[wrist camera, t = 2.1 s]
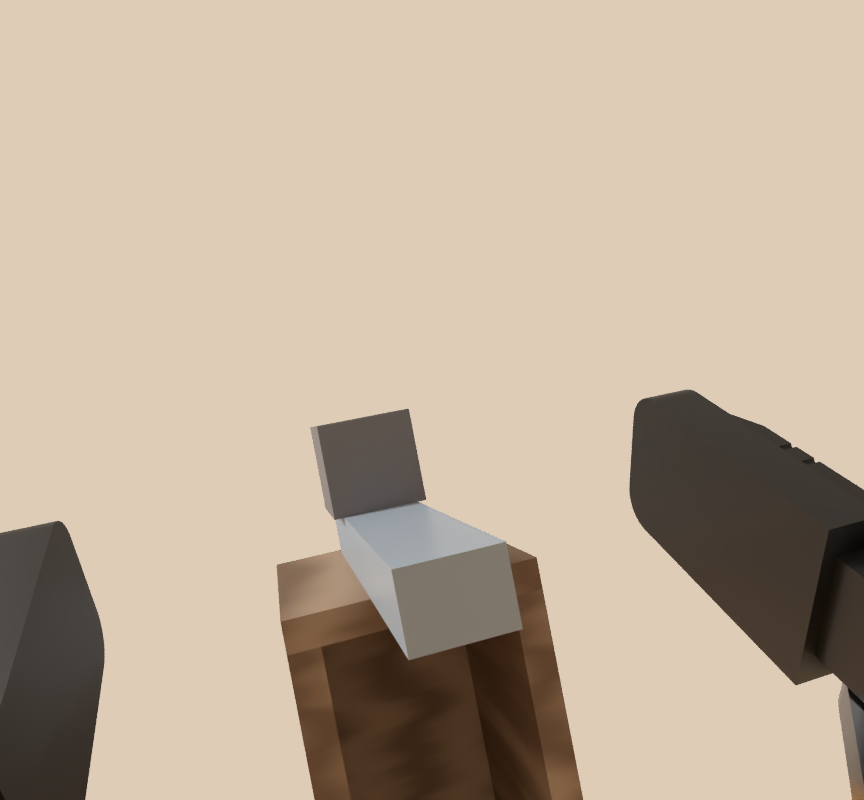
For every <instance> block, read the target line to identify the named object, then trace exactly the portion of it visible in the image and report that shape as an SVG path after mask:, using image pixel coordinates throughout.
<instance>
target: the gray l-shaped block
mask: <svg viewBox="0 0 864 800" xmlns="http://www.w3.org/2000/svg"><path fill="white" fill-rule="evenodd" d="M311 433H312V439H313V444H314V449H315V454H316V459H317V464H318V469H319V475H320V479H321V485H322V491H323V496H324V501H325V506H326V509H327V510H328V512H329V513H330V514H331V516H332V517H333V518H334V519H335V520H336V525H337V530H338V535H339V541H340V546H341V551H342V554H343V555H344V557H345V559H346V560H347V562H348V564H349V565H350V567H351V568H352V570H353V572H354V573H355V575H356V576H357V578H358V580H359V581H360V583H361V584H362V586H363V588H364V589H365V591H366V592H367V594H368V596H369V597H370V599H371V600H372V602H373V604H374V605H375V607H376V609H377V610H378V612H379V613H380V615H381V617H382V618H383V620H384V621H385V623H386V625H387V626H388V628H389V629H390V631H391V633H392V634H393V636H394V637H395V639H396V641H397V642H398V644H399V645H400V647H401V649H402V650H403V652H404V653H405V655H406V657H407V658H408V660H412V659H415V658H419V657H423V656H426V655H430V654H434V653H437V652H441V651H444V650H448V649H452V648H455V647H459V646H463V645H466V644H470V643H474V642H477V641H481V640H485V639H488V638H492V637H496V636H499V635H503V634H507V633H510V632H514V631H518V630H521V629H523V627H522V622H521V617H520V611H519V606H518V601H517V596H516V591H515V586H514V580H513V575H512V570H511V565H510V560H509V554H508V549H507V544H506V542H505V541H503V540H501V539H499V538H497V537H494V536H492V535H490V534H488V533H486V532H483V531H481V530H479V529H477V528H474V527H472V526H470V525H468V524H465V523H463V522H461V521H459V520H457V519H455V518H452V517H450V516H448V515H446V514H444V513H441V512H439V511H437V510H435V509H432V508H430V507H428V506H426V505H424V504H421V503H419V502H418V501H422V500H426V497H425V491H424V486H423V481H422V476H421V471H420V466H419V460H418V455H417V450H416V445H415V440H414V434H413V430H412V424H411V419H410V414H409V409H405V410H399V411H394V412H388V413H383V414H378V415H373V416H368V417H362V418H358V419H352V420H347V421H342V422H337V423H331V424H326V425H321V426H316V427H311Z"/></svg>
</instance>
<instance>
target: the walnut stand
mask: <svg viewBox="0 0 864 800" xmlns="http://www.w3.org/2000/svg"><path fill="white" fill-rule="evenodd" d="M507 549H508V554H509V560H510V565H511V570H512V575H513V580H514V586H515V591H516V596H517V601H518V606H519V611H520V617H521V622H522V627H523V629H521V630H518V631H514V632H510V633H507V634H503V635H499V636H496V637H492V638H488V639H485V640H481V641H477V642H474V643H470V644H466V645H463V646H459V647H455V648H452V649H448V650H444V651H441V652H437V653H434V654H430V655H426V656H423V657H419V658H415V659H412V660H408V658H407V657H406V655H405V653H404V652H403V650H402V649H401V647H400V645H399V644H398V642H397V641H396V639H395V637H394V636H393V634H392V633H391V631H390V629H389V628H388V626H387V625H386V623H385V621H384V620H383V618H382V617H381V615H380V613H379V612H378V610H377V609H376V607H375V605H374V604H373V602H372V600H371V599H370V597H369V596H368V594H367V592H366V591H365V589H364V588H363V586H362V584H361V583H360V581H359V580H358V578H357V576H356V575H355V573H354V572H353V570H352V568H351V567H350V565H349V564H348V562H347V560H346V559H345V557H344V555H343V554H342V551H341V550H339V551H335V552H331V553H326V554H322V555H317V556H313V557H309V558H305V559H300V560H296V561H292V562H287V563H283V564H279V565H277V575H278V590H279V604H280V620H281V626H282V631H283V636H284V642H285V646H286V652H287V657H288V662H289V668H290V672H291V678H292V684H293V689H294V694H295V699H296V704H297V709H298V715H299V720H300V725H301V730H302V736H303V741H304V746H305V751H306V757H307V762H308V767H309V772H310V777H311V783H312V788H313V793H314V798H315V800H583V797H582V792H581V787H580V781H579V776H578V771H577V766H576V760H575V755H574V750H573V745H572V740H571V735H570V730H569V724H568V719H567V714H566V709H565V704H564V698H563V693H562V688H561V683H560V677H559V672H558V667H557V662H556V657H555V652H554V646H553V641H552V636H551V631H550V626H549V621H548V615H547V610H546V605H545V600H544V594H543V589H542V584H541V579H540V574H539V569H538V564H537V558H536V557H534V556H532V555H530V554H528V553H526V552H523V551H521V550H519V549H517V548H515V547H512V546H510V545H508V544H507Z"/></svg>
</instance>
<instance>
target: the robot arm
mask: <svg viewBox="0 0 864 800" xmlns="http://www.w3.org/2000/svg"><path fill="white" fill-rule="evenodd" d="M630 498H631V503H632V507H633V510H634V512H635V515H636V517H637V519H638V521H639V522H640V524H641V525H642V526H643V528H644V529H645V530H646V531H647V532H648V533H649V534H650V535H651V536H652V537H653V538H654V539H655V540H656V541H657V542H658V543H659V544H660V545H661V547H662V548H663V549H664V550H665V551H666V552H667V553H668V554H669V555H670V556H671V557H672V558H673V559H674V560H675V561H676V562H677V563H678V564H679V565H680V566H681V567H682V568H683V569H684V570H685V571H686V572H687V573H688V574H689V575H690V576H691V578H692V579H693V580H694V581H695V582H696V583H697V584H698V585H699V586H700V587H701V588H702V589H703V590H704V591H705V592H706V593H707V594H708V595H709V596H710V597H711V598H712V599H713V600H714V601H715V602H716V603H717V604H718V605H719V606H720V607H721V608H722V610H723V611H724V612H725V613H726V614H727V615H728V616H729V617H730V618H731V619H732V620H733V621H734V622H735V623H736V624H737V625H738V626H739V627H740V628H741V629H742V630H743V631H744V632H745V633H746V634H747V635H748V636H749V637H750V638H751V639H752V640H753V642H754V643H755V644H756V645H758V647H759V648H760V649H761V650H762V651H763V652H764V653H765V654H766V655H767V656H768V657H769V658H770V659H771V660H772V661H773V662H774V663H775V664H776V665H777V666H778V667H779V668H780V669H781V671H782V672H783V673H785V675H786V676H787V677H788V678H789V679H790V680H791V681H792V682H793V683H794V684H795V685H798V684H801V683H804V682H807V681H810V680H813V679H816V678H819V677H822V676H825V675H828V674H831V673H833V674H835V675H836V676H837V677H838V678H839V679H840V680H841V681H842V682H843V683H842V687H841V691H840V695H839V699H838V703H839V713H840V720H841V726H842V732H843V740H844V746H845V753H846V760H847V767H848V773H849V780H850V787H851V794H852V800H864V490H863V489H862V488H860V487H858V486H857V485H855V484H853V483H852V482H850V481H849V480H847V479H846V478H844V477H843V476H841V475H840V474H838V473H836V472H835V471H833V470H832V469H830V468H828V467H827V466H825V465H824V464H822V463H821V462H817V463H815V462H814V458H813V457H811V456H810V455H808V454H807V453H805V452H804V451H802V450H801V449H799V448H797V447H794V448H792V446H791V443H789V442H788V441H786V440H785V439H783V438H782V437H780V436H779V435H777V434H776V433H774V432H772V431H771V430H769V429H767V428H766V427H765V426H762V425H759V424H756V423H754V422H751V421H748V420H745V419H742V418H740V417H737V416H734V415H731V414H729V413H727V412H726V411H724V410H723V409H721V408H719V407H718V406H717V405H715V404H713V403H712V402H710V401H709V400H707V399H706V398H704V397H703V396H701V395H700V394H698V393H697V392H695V391H693V390H683V391H678V392H674V393H669V394H664V395H659V396H655V397H650V398H645V399H642V400H641V401H639V403H638V404H637V406H636V408H635V412H634V423H633V438H632V455H631V471H630ZM103 668H104V640H103V633H102V628H101V623H100V619H99V615H98V612H97V610H96V607H95V604H94V601H93V598H92V596H91V593H90V590H89V587H88V584H87V582H86V579H85V576H84V573H83V570H82V568H81V565H80V562H79V559H78V556H77V554H76V551H75V548H74V545H73V543H72V540H71V537H70V534H69V532H68V530H67V528H66V527H65V525H64V524H63V523H62V522H60V521H56V522H51V523H46V524H41V525H36V526H32V527H27V528H22V529H18V530H13V531H8V532H3V533H0V800H85V796H86V789H87V782H88V776H89V768H90V761H91V754H92V747H93V740H94V733H95V725H96V719H97V712H98V705H99V697H100V690H101V682H102V675H103Z"/></svg>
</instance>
